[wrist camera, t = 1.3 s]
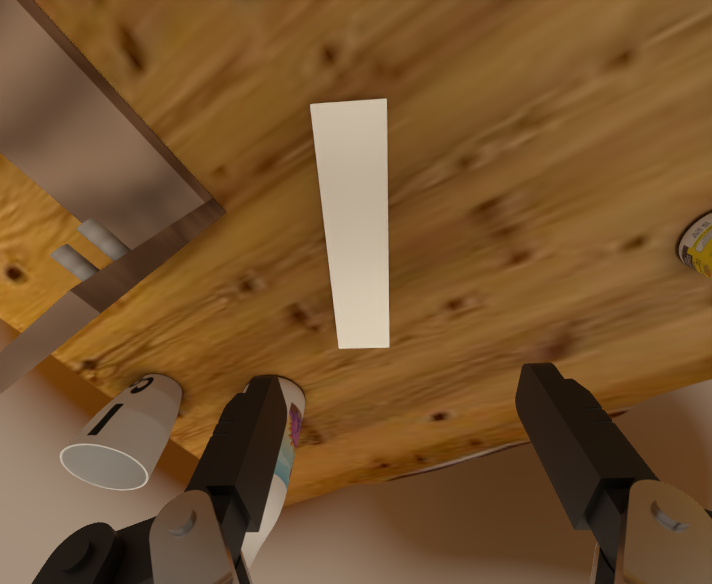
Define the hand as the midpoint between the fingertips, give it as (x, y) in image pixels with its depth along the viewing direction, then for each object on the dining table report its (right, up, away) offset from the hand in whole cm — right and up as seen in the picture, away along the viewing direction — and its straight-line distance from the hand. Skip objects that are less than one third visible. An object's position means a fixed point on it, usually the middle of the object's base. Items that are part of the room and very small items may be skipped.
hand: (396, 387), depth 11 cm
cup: (-25, -9, +29) cm, 40 cm away
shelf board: (-1, +8, +18) cm, 20 cm away
